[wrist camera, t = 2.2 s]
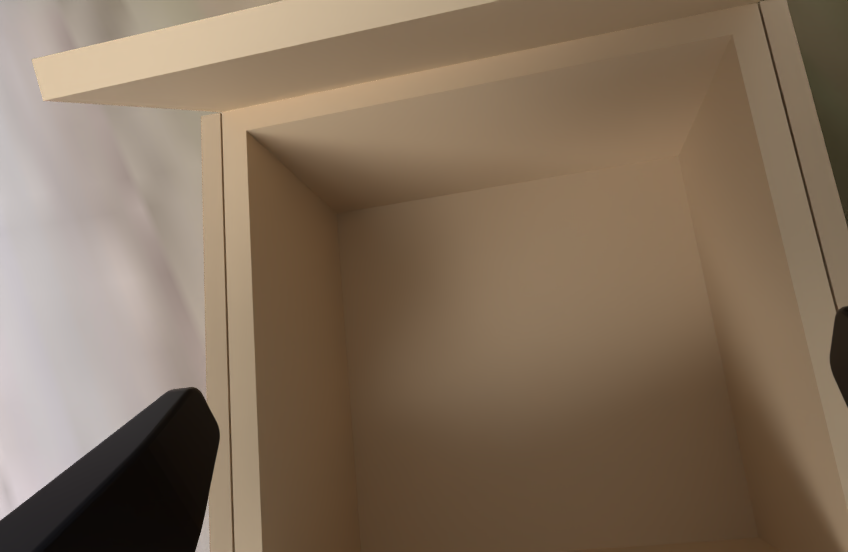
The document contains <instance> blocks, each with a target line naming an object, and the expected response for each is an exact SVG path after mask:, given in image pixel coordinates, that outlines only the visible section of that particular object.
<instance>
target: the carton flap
mask: <svg viewBox="0 0 848 552" xmlns="http://www.w3.org/2000/svg"><path fill="white" fill-rule="evenodd" d="M759 1H761V0H283V1H279V2H275V3H270V4H266V5H262V6H258V7H253V8H249V9H245V10H241V11H236V12H232V13H228V14H223V15H219V16H215V17H211V18H206V19H202V20H198V21H193V22H189V23H185V24H181V25H176V26H172V27H168V28H164V29H159V30H155V31H151V32H146V33H142V34H138V35H134V36H129V37H125V38H121V39H116V40H112V41H108V42H104V43H99V44H95V45H91V46H87V47H82V48H78V49H74V50H69V51H65V52H61V53H57V54H52V55H48V56H44V57H39V58H35V59H32V62H33V66H34V69H35V73H36V77H37V80H38V84H39V87H40V91H41V94H42V98H43V101H55V102H71V103H86V104H102V105H118V106H134V107H149V108H165V109H181V110H196V111H212V112H225V111H230V110H235V109H240V108H245V107H249V106H254V105H259V104H264V103H269V102H274V101H279V100H284V99H289V98H293V97H298V96H303V95H308V94H313V93H318V92H323V91H328V90H332V89H337V88H342V87H347V86H352V85H357V84H362V83H367V82H371V81H376V80H381V79H386V78H391V77H396V76H401V75H406V74H410V73H415V72H420V71H425V70H430V69H435V68H440V67H445V66H449V65H454V64H459V63H464V62H469V61H474V60H479V59H484V58H489V57H493V56H498V55H503V54H508V53H513V52H518V51H523V50H528V49H532V48H537V47H542V46H547V45H552V44H557V43H562V42H567V41H571V40H576V39H581V38H586V37H591V36H596V35H601V34H606V33H610V32H615V31H620V30H625V29H630V28H635V27H640V26H645V25H650V24H654V23H659V22H664V21H669V20H674V19H679V18H684V17H689V16H693V15H698V14H703V13H708V12H713V11H718V10H723V9H728V8H732V7H737V6H742V5H747V4H752V3H757V2H759Z"/></svg>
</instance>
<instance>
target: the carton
mask: <svg viewBox="0 0 848 552" xmlns="http://www.w3.org/2000/svg"><path fill="white" fill-rule="evenodd" d="M201 147H202V195H203V243H204V291H205V339H206V387H207V404H208V406H209V408H210V410H211V412H212V414H213V416H214V417H215V419H216V421H217V423H218V426H219V430H220V441H219V447H218V452H217V457H216V461H215V466H214V471H213V476H212V481H211V486H210V491H209V531H210V552H848V408H847V405H846V403H845V401H844V399H843V396H842V394H841V392H840V390H839V388H838V385H837V383H836V381H835V379H834V376H833V374H832V371H831V367H830V358H829V357H830V349H831V341H832V334H833V327H834V319H835V315H836V313H837V311H838V310H839V309H840V308H842V307H844V306H848V227H847V224H846V220H845V216H844V212H843V209H842V205H841V201H840V197H839V194H838V190H837V186H836V183H835V179H834V175H833V171H832V168H831V164H830V160H829V156H828V153H827V149H826V145H825V142H824V138H823V134H822V130H821V127H820V123H819V119H818V115H817V112H816V108H815V104H814V101H813V97H812V93H811V89H810V86H809V82H808V78H807V74H806V71H805V67H804V63H803V60H802V56H801V52H800V48H799V45H798V41H797V37H796V33H795V30H794V26H793V22H792V19H791V15H790V11H789V7H788V4H787V0H767V1H762V2H759V4H757V3H752V4H747V5H742V6H738V7H733V8H728V9H723V10H718V11H713V12H708V13H703V14H699V15H694V16H689V17H684V18H679V19H674V20H669V21H664V22H659V23H655V24H650V25H645V26H640V27H635V28H630V29H625V30H620V31H616V32H611V33H606V34H601V35H596V36H591V37H586V38H581V39H577V40H572V41H567V42H562V43H557V44H552V45H547V46H542V47H538V48H533V49H528V50H523V51H518V52H513V53H508V54H503V55H498V56H494V57H489V58H484V59H479V60H474V61H469V62H464V63H459V64H455V65H450V66H445V67H440V68H435V69H430V70H425V71H420V72H416V73H411V74H406V75H401V76H396V77H391V78H386V79H381V80H377V81H372V82H367V83H362V84H357V85H352V86H347V87H342V88H337V89H333V90H328V91H323V92H318V93H313V94H308V95H303V96H298V97H294V98H289V99H284V100H279V101H274V102H269V103H264V104H259V105H255V106H250V107H245V108H240V109H235V110H230V111H225V112H222V114H221V113H216V114H211V115H206V116H201Z"/></svg>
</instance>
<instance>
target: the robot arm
mask: <svg viewBox="0 0 848 552" xmlns="http://www.w3.org/2000/svg"><path fill="white" fill-rule="evenodd" d="M829 358H830V367H831V371H832V374H833V376H834V379H835V381H836V383H837V385H838V388H839V390H840V392H841V394H842V396H843V399H844V401H845V403H846V405H847V408H848V306H844V307H842V308H840V309H839V310H838V311H837V313H836V315H835V319H834V327H833V334H832V341H831V349H830V357H829ZM219 441H220V430H219V426H218V423H217V421H216V419H215V417H214V416H213V414H212V412H211V410H210V408H209V406H208V404H207V402H206V400H205V399H204V397H203V395H202V393H201V392H200V391H199V390H198V389H197V388H194V387H188V388H180V389H173V390H170V391H168V392H166V393H165V394H164V395H162V396H161V397H160V398H158V399H157V400H156V401H155V402H153V403H152V404H151V405H149V406H148V407H147V408H145V409H144V410H143V411H142V412H140V413H139V414H138V415H136V416H135V417H134V418H133V419H131V420H130V421H129V422H127V423H126V424H125V425H123V426H122V427H121V428H120V429H118V430H117V431H116V432H114V433H113V434H112V435H111V436H109V437H108V438H107V439H105V440H104V441H103V442H101V443H100V444H99V445H98V446H96V447H95V448H94V449H92V450H91V451H90V452H89V453H87V454H86V455H85V456H83V457H82V458H81V459H79V460H78V461H77V462H76V463H74V464H73V465H72V466H70V467H69V468H68V469H67V470H65V471H64V472H63V473H61V474H60V475H59V476H57V477H56V478H55V479H54V480H52V481H51V482H50V483H48V484H47V485H46V486H45V487H43V488H42V489H41V490H39V491H38V492H37V493H35V494H34V495H33V496H32V497H30V498H29V499H28V500H26V501H25V502H24V503H23V504H21V505H20V506H19V507H17V508H16V509H15V510H13V511H12V512H11V513H10V514H8V515H7V516H6V517H4V518H3V519H2V520H1V521H0V552H195V550H196V547H197V543H198V540H199V536H200V533H201V529H202V524H203V520H204V516H205V511H206V506H207V501H208V496H209V491H210V486H211V481H212V476H213V471H214V466H215V461H216V457H217V452H218V447H219Z"/></svg>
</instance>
